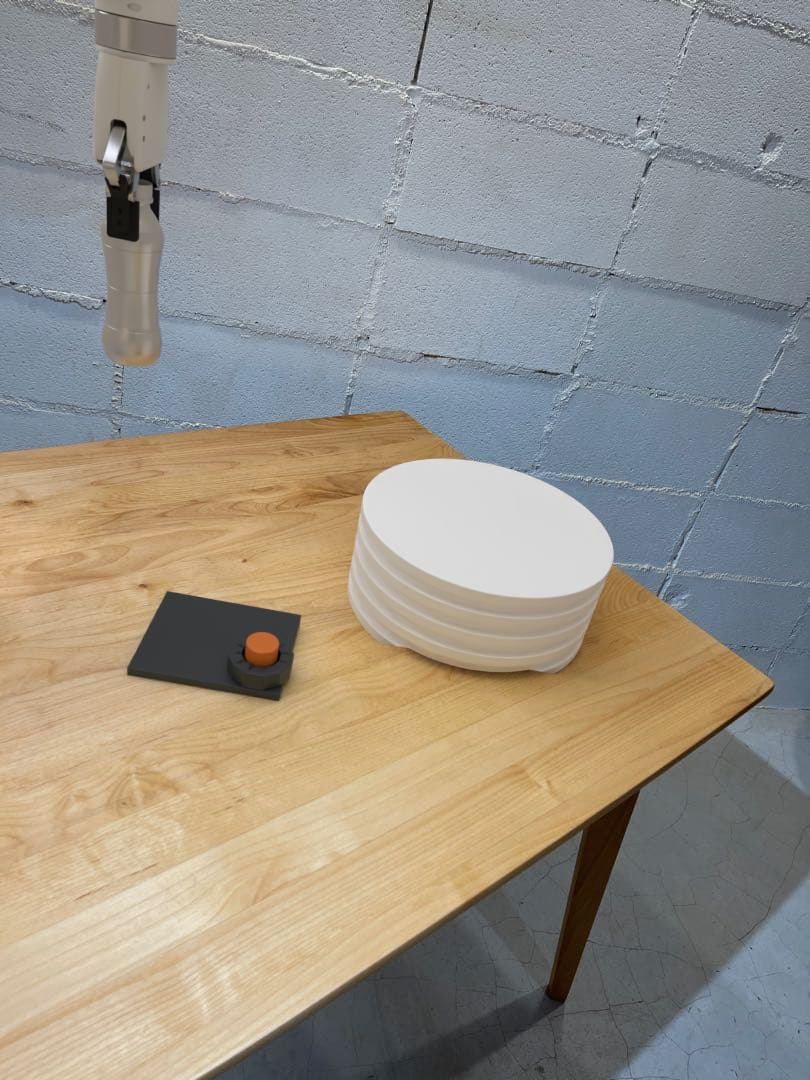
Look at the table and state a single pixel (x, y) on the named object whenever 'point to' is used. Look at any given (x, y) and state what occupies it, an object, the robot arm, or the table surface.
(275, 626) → the scale
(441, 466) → the plate stack
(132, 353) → the plastic bottle
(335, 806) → the table surface
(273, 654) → the button
